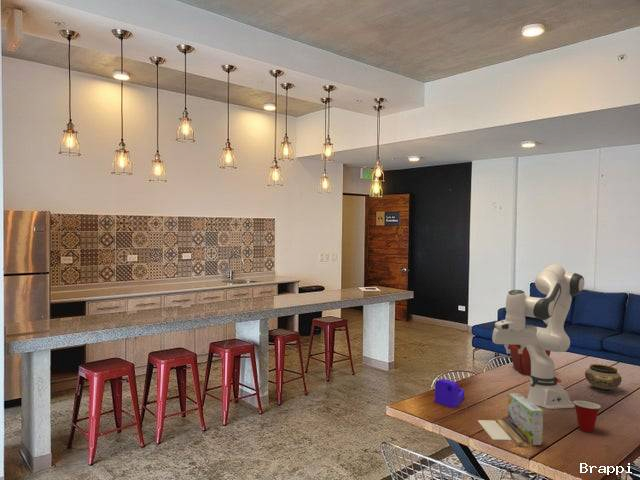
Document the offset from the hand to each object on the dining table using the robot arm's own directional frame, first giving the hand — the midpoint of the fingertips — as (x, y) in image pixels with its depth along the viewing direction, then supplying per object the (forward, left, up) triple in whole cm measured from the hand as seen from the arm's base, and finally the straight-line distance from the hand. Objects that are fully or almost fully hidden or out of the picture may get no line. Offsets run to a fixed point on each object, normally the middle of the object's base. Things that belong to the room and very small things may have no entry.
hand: (514, 353), depth 227 cm
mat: (+14, +14, -31) cm, 37 cm away
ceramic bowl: (-69, -44, -31) cm, 88 cm away
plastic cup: (-29, +11, -31) cm, 44 cm away
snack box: (+2, +18, -31) cm, 36 cm away
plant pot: (-40, -75, -31) cm, 91 cm away
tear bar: (+7, +18, -31) cm, 37 cm away
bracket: (+22, -22, -32) cm, 44 cm away
